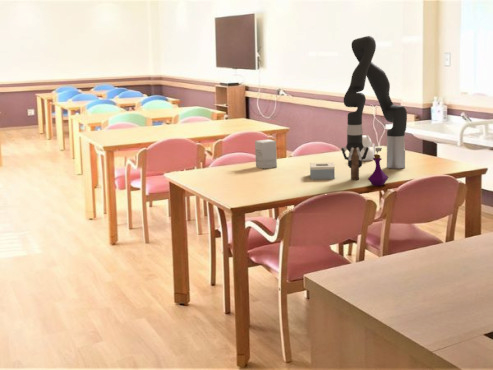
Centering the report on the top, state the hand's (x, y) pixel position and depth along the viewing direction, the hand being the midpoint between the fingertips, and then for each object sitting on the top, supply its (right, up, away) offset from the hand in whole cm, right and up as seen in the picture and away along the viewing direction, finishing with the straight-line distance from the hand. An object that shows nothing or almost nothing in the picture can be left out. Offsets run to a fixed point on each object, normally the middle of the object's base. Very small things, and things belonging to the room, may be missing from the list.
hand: (354, 167), depth 356 cm
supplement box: (-43, +1, +42) cm, 60 cm away
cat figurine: (+15, +5, +53) cm, 55 cm away
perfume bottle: (+9, -9, -13) cm, 18 cm away
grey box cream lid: (-15, -4, +10) cm, 19 cm away
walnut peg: (0, -6, +1) cm, 6 cm away
